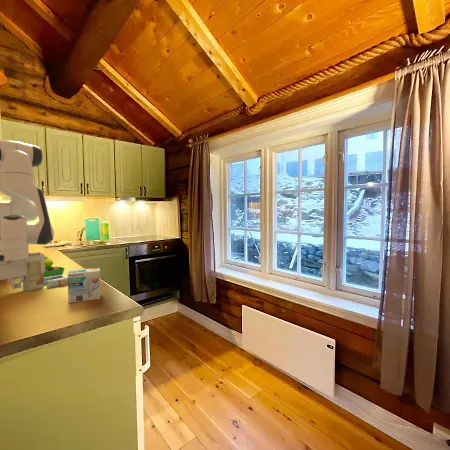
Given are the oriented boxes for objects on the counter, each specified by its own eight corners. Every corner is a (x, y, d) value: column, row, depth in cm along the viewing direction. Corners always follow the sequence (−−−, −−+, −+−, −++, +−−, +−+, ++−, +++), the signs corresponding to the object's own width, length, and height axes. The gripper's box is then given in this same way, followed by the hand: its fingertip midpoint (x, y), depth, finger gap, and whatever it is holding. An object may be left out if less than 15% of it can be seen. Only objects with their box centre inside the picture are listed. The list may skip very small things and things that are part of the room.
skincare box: (29, 291, 107) (29, 262, 107) (22, 290, 108) (21, 261, 108) (44, 287, 113) (44, 259, 113) (37, 286, 115) (36, 259, 114)
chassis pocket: (35, 283, 120) (35, 277, 120) (65, 277, 130) (65, 271, 130) (52, 289, 109) (52, 282, 109) (84, 283, 120) (84, 276, 120)
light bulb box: (67, 303, 92) (67, 273, 92) (69, 298, 98) (68, 270, 98) (101, 299, 97) (100, 270, 97) (100, 294, 103) (99, 267, 103)
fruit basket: (40, 283, 120) (39, 259, 120) (31, 280, 125) (30, 257, 124) (65, 277, 130) (65, 255, 130) (56, 275, 135) (55, 254, 134)
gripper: (41, 251, 116) (42, 281, 116) (-20, 257, 99) (-19, 292, 100) (47, 252, 112) (48, 283, 113) (-16, 258, 96) (-15, 295, 96)
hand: (16, 288), depth 106 cm, fingers closed
